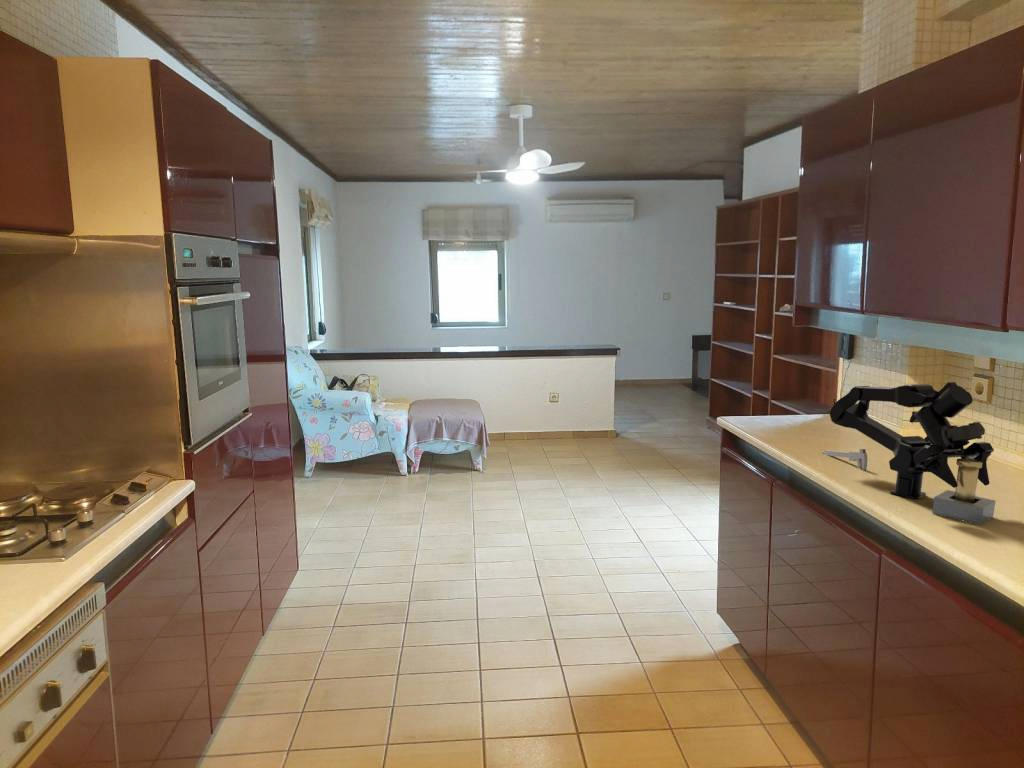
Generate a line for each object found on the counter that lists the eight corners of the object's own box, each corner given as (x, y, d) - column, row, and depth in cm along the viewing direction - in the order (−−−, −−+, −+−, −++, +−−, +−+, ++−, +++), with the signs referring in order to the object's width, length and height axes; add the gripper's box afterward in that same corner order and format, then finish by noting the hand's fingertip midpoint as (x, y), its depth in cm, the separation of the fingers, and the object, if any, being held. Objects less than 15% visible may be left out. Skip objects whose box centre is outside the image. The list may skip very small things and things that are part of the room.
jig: (945, 506, 175) (947, 490, 174) (993, 517, 167) (995, 500, 167) (932, 513, 169) (934, 497, 168) (980, 525, 162) (983, 508, 161)
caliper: (866, 471, 205) (869, 450, 204) (863, 471, 205) (865, 450, 204) (824, 453, 225) (826, 433, 224) (821, 453, 225) (823, 434, 224)
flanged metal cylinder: (947, 510, 171) (954, 457, 169) (972, 513, 170) (979, 459, 168) (952, 517, 167) (959, 462, 165) (977, 520, 165) (984, 465, 163)
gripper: (928, 411, 166) (964, 470, 157) (992, 408, 171) (1030, 466, 162) (898, 436, 174) (930, 494, 166) (959, 433, 179) (993, 489, 171)
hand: (971, 485), depth 166 cm, fingers open, 9 cm apart
